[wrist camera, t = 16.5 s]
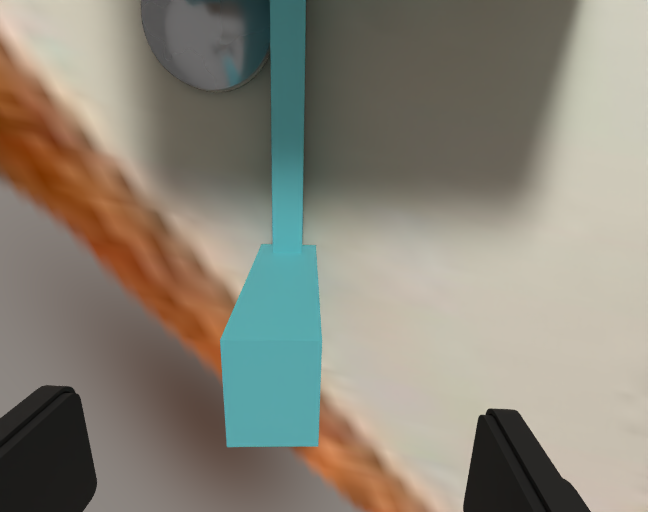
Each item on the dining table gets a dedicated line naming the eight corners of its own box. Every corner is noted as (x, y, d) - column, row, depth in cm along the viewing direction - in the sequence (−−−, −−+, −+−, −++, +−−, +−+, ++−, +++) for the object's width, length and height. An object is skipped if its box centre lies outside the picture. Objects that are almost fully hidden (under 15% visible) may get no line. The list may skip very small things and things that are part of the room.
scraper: (405, 311, 22) (479, 445, 12) (167, 308, 21) (53, 447, 12) (449, -70, 16) (651, -366, 7) (123, -91, 15) (-174, -453, 6)
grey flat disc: (246, -68, 17) (241, -84, 16) (293, 67, 18) (291, 62, 17) (130, -17, 17) (117, -29, 16) (185, 110, 19) (176, 108, 18)
